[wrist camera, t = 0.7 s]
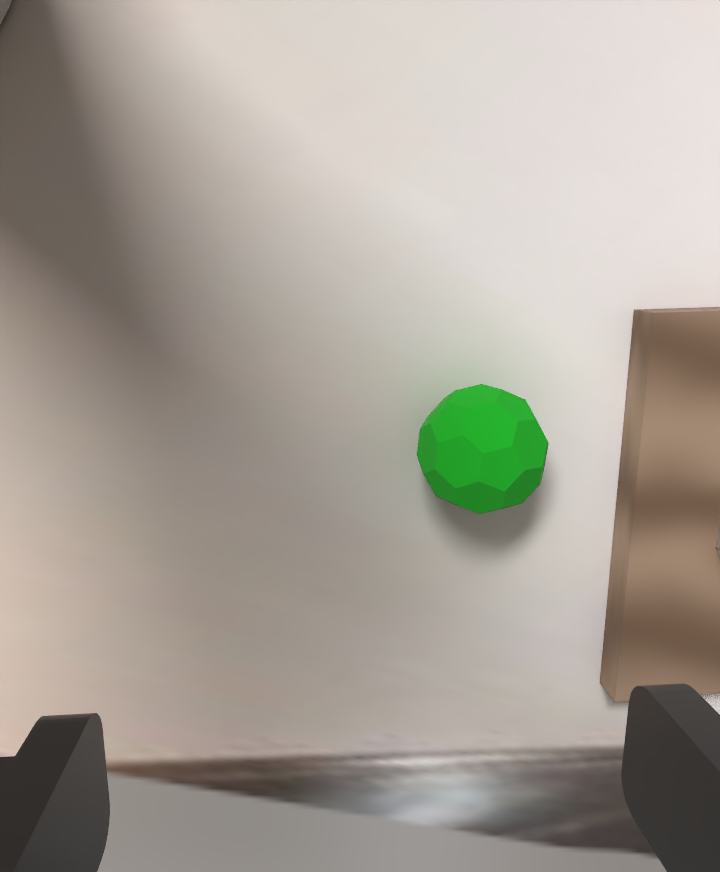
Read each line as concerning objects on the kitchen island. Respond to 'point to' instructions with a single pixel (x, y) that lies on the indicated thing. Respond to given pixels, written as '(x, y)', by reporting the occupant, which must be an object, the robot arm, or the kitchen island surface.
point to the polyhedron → (482, 449)
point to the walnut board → (667, 510)
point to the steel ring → (718, 538)
